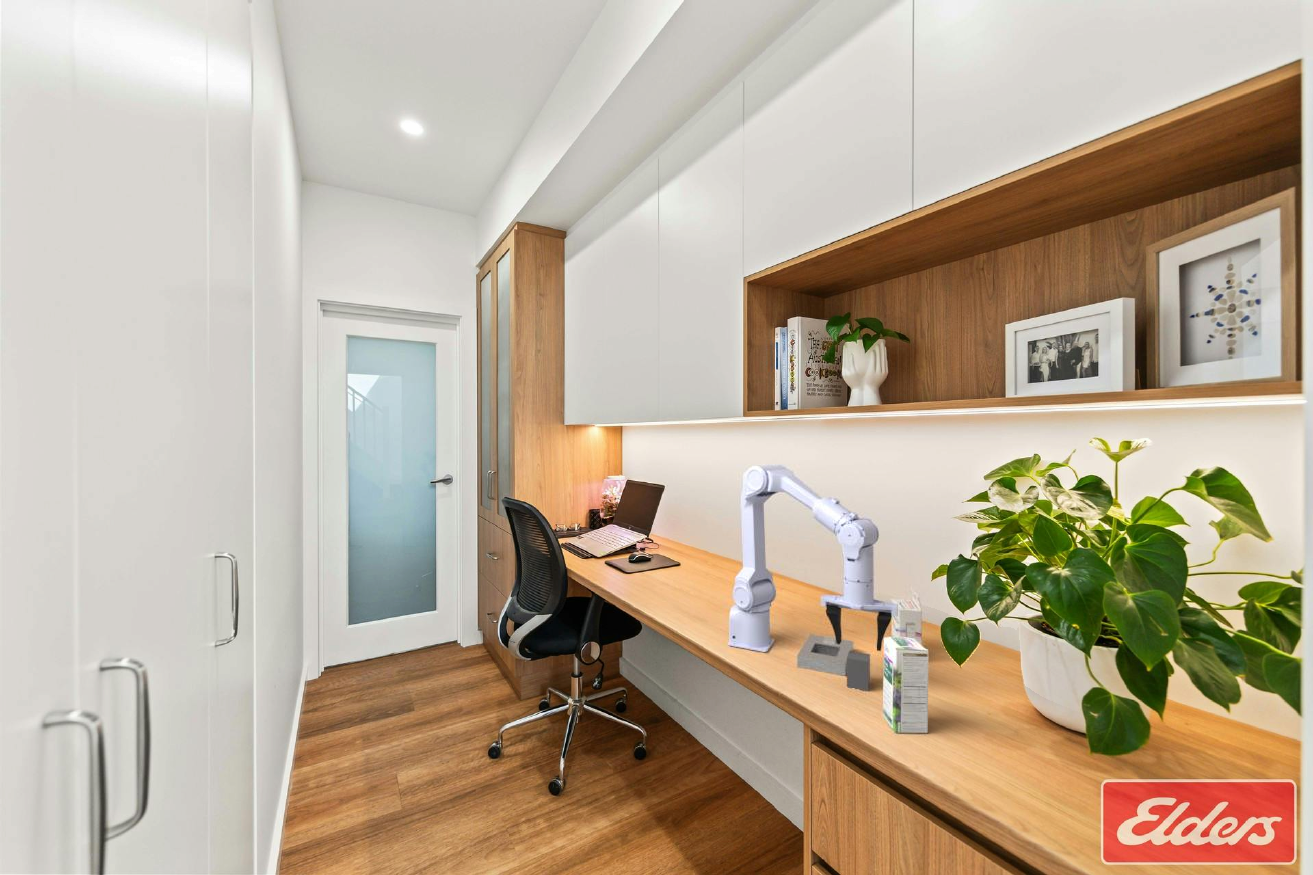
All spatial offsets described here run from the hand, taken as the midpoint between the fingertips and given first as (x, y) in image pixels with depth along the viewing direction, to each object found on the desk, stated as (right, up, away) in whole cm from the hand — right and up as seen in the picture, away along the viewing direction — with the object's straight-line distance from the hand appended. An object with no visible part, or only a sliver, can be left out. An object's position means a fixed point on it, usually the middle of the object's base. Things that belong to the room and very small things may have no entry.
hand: (858, 645), depth 108 cm
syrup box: (+3, -8, -15) cm, 17 cm away
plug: (0, -8, 0) cm, 8 cm away
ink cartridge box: (+17, -8, +15) cm, 24 cm away
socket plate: (-3, -8, +13) cm, 15 cm away
